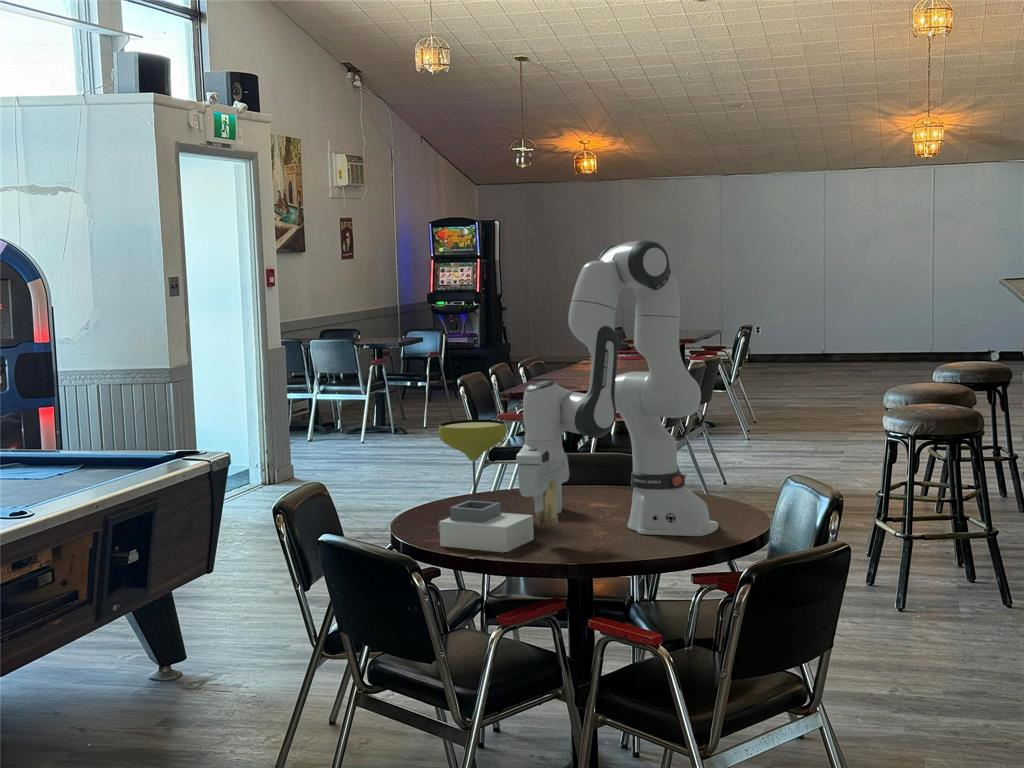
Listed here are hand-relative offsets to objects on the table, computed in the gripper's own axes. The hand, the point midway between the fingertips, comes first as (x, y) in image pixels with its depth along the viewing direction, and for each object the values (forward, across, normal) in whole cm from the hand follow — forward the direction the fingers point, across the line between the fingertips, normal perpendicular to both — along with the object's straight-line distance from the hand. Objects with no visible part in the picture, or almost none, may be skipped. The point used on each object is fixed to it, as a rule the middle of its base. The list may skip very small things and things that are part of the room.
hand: (546, 507), depth 264 cm
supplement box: (+10, -34, -16) cm, 39 cm away
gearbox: (+9, +4, -17) cm, 19 cm away
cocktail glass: (+10, -22, -32) cm, 40 cm away
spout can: (+4, 0, 0) cm, 4 cm away
